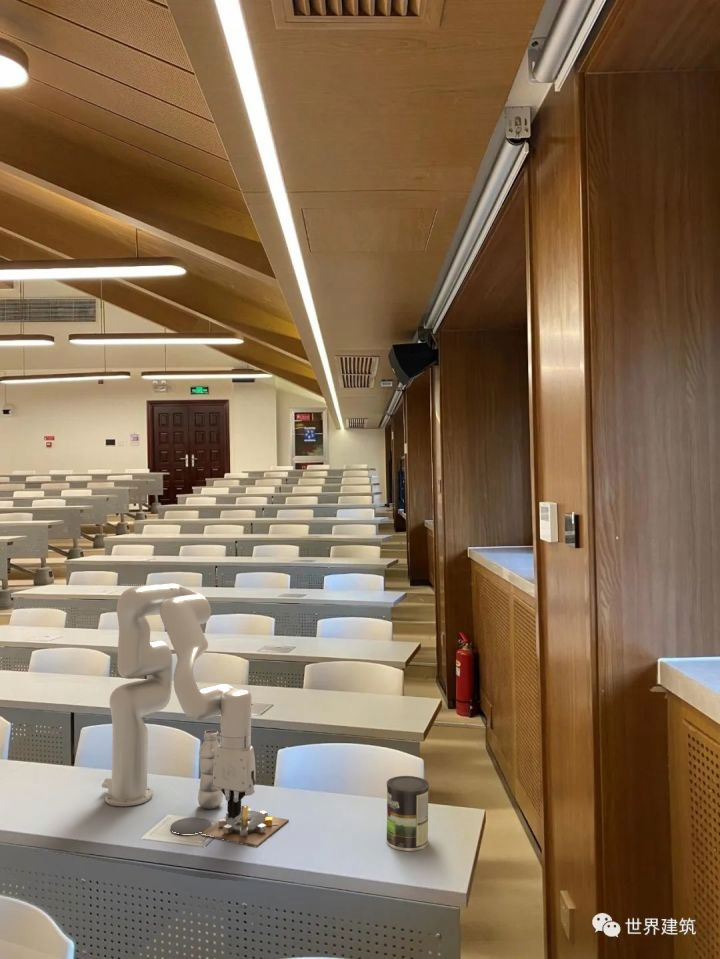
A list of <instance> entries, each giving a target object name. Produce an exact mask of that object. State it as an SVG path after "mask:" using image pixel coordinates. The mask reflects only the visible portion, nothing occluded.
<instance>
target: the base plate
mask: <svg viewBox="0 0 720 959" xmlns="http://www.w3.org/2000/svg"><path fill="white" fill-rule="evenodd" d="M268 817H272V826H266V831H265V832H262V833H259V832H253V833H248V835H247V836H240V833H234V832H231V833H229V834H226V833H224V832H223V827H219V820H218V821H216V822H215V823H214V824H211V827H209V828H208V829H206V830H205V831H203V832H202V833H201V834H206V835H211V836H214V837H216V838H219V839H218V840H221V839H224V840H223V841H225V840H229V841H228V842H230V841H234V842H233V843H235V842H238V843H237V844H240V843H243V844H242V845H245V844H247V845H246V846H250V845H251V846H250V847H254V846H256V848H258V847H260V845H261V844H263V843H264V842H265V841H267V840H268V839H269V838H270V837H271V836H273V835H274V834H276V832H278V831H279V830H280V829H281V828H283V827H284V826H285V825H286V824H288V823H289V822H290V820H289V819H288V818H282V817H276V816H270V815H268ZM223 818H226V816H224V817H223ZM201 834H200V835H201ZM272 834H273V835H272ZM216 838H215V839H216ZM267 838H268V839H267ZM262 842H263V843H262ZM257 846H258V847H257Z"/></svg>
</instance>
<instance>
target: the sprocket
mask: <svg viewBox="0 0 720 959" xmlns="http://www.w3.org/2000/svg"><path fill="white" fill-rule="evenodd" d="M268 814H269V812H268V811H266V810H261V811H257V810H252V808H249V806H248V805H247V804H245V805H244V804H243V805H241V813H240V815H238V816H237V817H236V818H232V817H231V818H229V817H228V812H226V814H225V817H226V818H224V817H220V818H219V820H218V821H219V827H223V832H224V833H226V834H229V833H231V832H234V833H240V836H247V835H248V833H253V832H259V833H262V832H265V831H266V826H272V817H273V816H272V817H268V816H269V815H268Z"/></svg>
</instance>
